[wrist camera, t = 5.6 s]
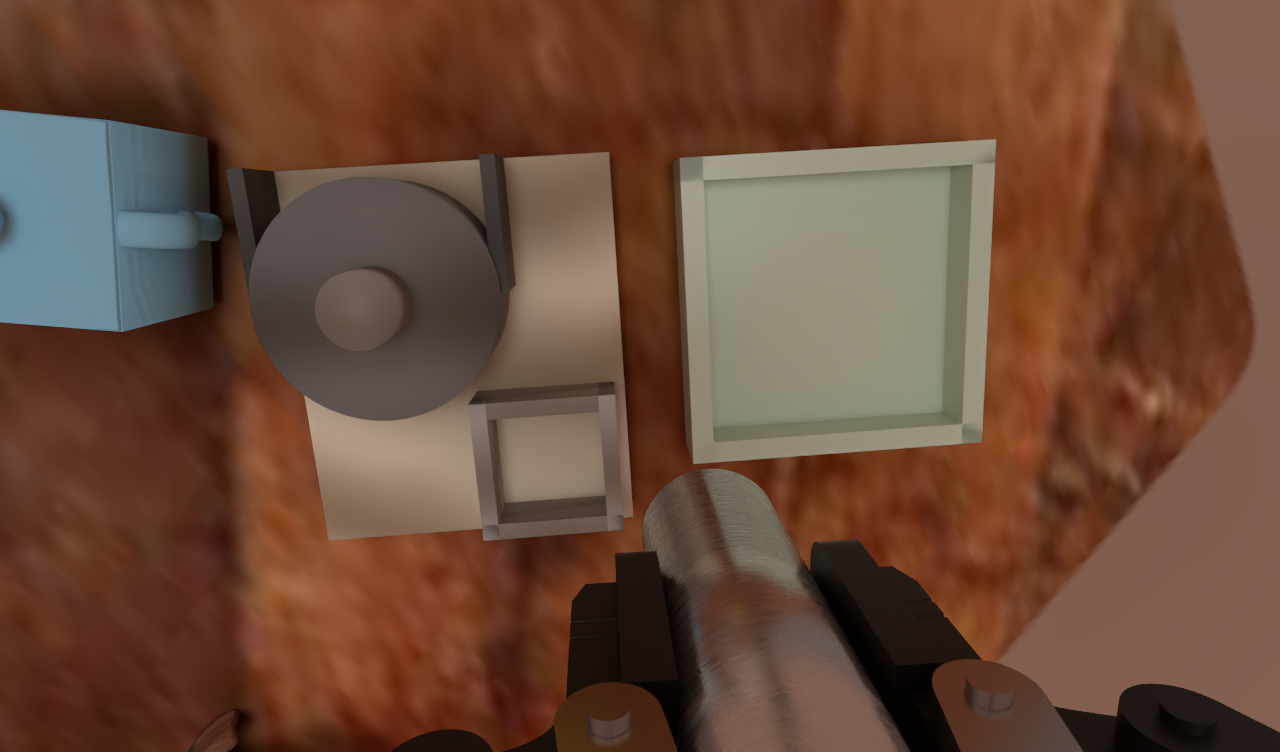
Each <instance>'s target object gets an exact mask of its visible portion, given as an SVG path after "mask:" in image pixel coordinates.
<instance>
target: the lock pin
mask: <svg viewBox="0 0 1280 752" xmlns="http://www.w3.org/2000/svg"><path fill="white" fill-rule="evenodd" d="M642 541H643V549H644V552H647V551H657V556H658V562H659V567H660V573H661V579H662V585H663V591H664V597H665V603H666V609H667V615H668V621H669V627H670V633H671V639H672V645H673V651H674V657H675V663H676V669H677V675H678V688H679V724H678V727H677V730H676V733H675V736H674V743H675V745H676V748H677V751H678V752H912V751H911V750H910V748H909V746H908V744H907V743H906V741H905V739H904V737H903V736H902V734H901V732H900V730H899V728H898V727H897V725H896V723H895V721H894V720H893V718H892V716H891V714H890V712H889V711H888V709H887V707H886V705H885V704H884V702H883V700H882V698H881V697H880V695H879V693H878V691H877V689H876V688H875V686H874V684H873V682H872V681H871V679H870V677H869V675H868V674H867V672H866V670H865V668H864V666H863V665H862V663H861V661H860V659H859V658H858V656H857V654H856V652H855V650H854V649H853V647H852V645H851V643H850V642H849V640H848V638H847V636H846V635H845V633H844V631H843V629H842V627H841V626H840V624H839V622H838V620H837V619H836V617H835V615H834V613H833V611H832V610H831V608H830V606H829V604H828V603H827V601H826V599H825V597H824V596H823V594H822V592H821V590H820V588H819V587H818V585H817V583H816V581H815V580H814V578H813V576H812V574H811V573H810V571H809V569H808V567H807V565H806V564H805V562H804V560H803V558H802V557H801V555H800V553H799V551H798V549H797V548H796V546H795V544H794V542H793V541H792V539H791V537H790V535H789V534H788V532H787V530H786V528H785V526H784V525H783V523H782V521H781V519H780V518H779V516H778V514H777V512H776V511H775V509H774V507H773V505H772V503H771V502H770V500H769V498H768V497H767V495H766V494H765V493H764V491H763V490H762V489H761V488H760V487H759V486H758V485H757V484H755V483H754V482H753V481H752V480H750V479H748V478H747V477H745V476H743V475H741V474H738V473H736V472H732V471H729V470H723V469H703V470H697V471H693V472H690V473H687V474H684V475H682V476H680V477H678V478H676V479H674V480H673V481H672V482H670V483H669V484H667V485H666V486H665V487H664V488H663V489H662V490H661V491H660V492H659V493H658V494H657V495H656V496H655V498H654V499H653V501H652V502H651V504H650V506H649V508H648V510H647V512H646V515H645V518H644V522H643V527H642Z"/></svg>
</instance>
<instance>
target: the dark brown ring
mask: <svg viewBox="0 0 1280 752" xmlns="http://www.w3.org/2000/svg"><path fill="white" fill-rule="evenodd" d="M238 720H239V712H238V711H237V710H235V709H234V710H230V711H228V712H227V713H226V714H224V715H222V716H221V717H219V718H218V719H216V720H215V721H214V722H213V723H212V724H211V725H210V726H209V727H207V728H206V729H205V730H204V732H203V733H202V734H201V735H200V736H199V737H198V738H197V740H196V741H195V743H194V744H193V745H192V746H191V748H190V749H189V751H188V752H228V751H229V750H231V749H232V748H234V747H235V746H236V744H237V742H238V734H237V730H236V726H237V723H238Z"/></svg>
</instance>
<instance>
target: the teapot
mask: <svg viewBox="0 0 1280 752" xmlns="http://www.w3.org/2000/svg"><path fill="white" fill-rule="evenodd" d="M222 233H223V224H222V221H221V219H220V218H219V217H218V216H217V215H214V214H210V187H209V157H208V138H207V137H202V136H196V135H190V134H185V133H179V132H173V131H167V130H162V129H156V128H150V127H144V126H139V125H133V124H127V123H122V122H116V121H110V120H100V119H89V118H79V117H69V116H59V115H48V114H38V113H28V112H17V111H7V110H0V322H4V323H17V324H30V325H42V326H55V327H68V328H81V329H94V330H107V331H120V332H124V331H127V330H131V329H135V328H139V327H143V326H146V325H150V324H154V323H158V322H162V321H165V320H169V319H173V318H177V317H181V316H184V315H188V314H192V313H196V312H200V311H203V310H207V309H211V308H214V300H213V272H212V244H211V241H218V240H219V239H220V238H221V236H222Z"/></svg>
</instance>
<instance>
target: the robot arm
mask: <svg viewBox="0 0 1280 752" xmlns="http://www.w3.org/2000/svg"><path fill="white" fill-rule="evenodd" d="M615 562H616V582H613V583H596V584H585V585H584V587H583V588H582V589H581V591H580V592H579V593H578V594H577V596H576V597H575V598H574V600H573V601H572V610H571V627H570V643H569V659H568V675H567V692H566V700H565V701H563V703H562V704H561V705H560V707H559V708H558V710H557V712H556V715H555V719H554V725H553V726H552V727H551V728H550V729H549V730H548V731H547V732H546V733H544V734H543V735H541V736H540V737H538V738H537V739H535V740H533V741H531V742H529V743H527V744H524V745H521V746H519V747H516V748H513V749H509V750H506V751H503V752H678V751H677V748H676V745H675V743H674V736H675V733H676V730H677V727H678V724H679V688H678V675H677V669H676V663H675V657H674V651H673V645H672V639H671V633H670V627H669V621H668V615H667V609H666V603H665V597H664V591H663V585H662V579H661V573H660V567H659V562H658V556H657V551H647V552H629V553H615ZM810 573H811V574H812V576H813V578H814V580H815V581H816V583H817V585H818V587H819V588H820V590H821V592H822V594H823V596H824V597H825V599H826V601H827V603H828V604H829V606H830V608H831V610H832V611H833V613H834V615H835V617H836V619H837V620H838V622H839V624H840V626H841V627H842V629H843V631H844V633H845V635H846V636H847V638H848V640H849V642H850V643H851V645H852V647H853V649H854V650H855V652H856V654H857V656H858V658H859V659H860V661H861V663H862V665H863V666H864V668H865V670H866V672H867V674H868V675H869V677H870V679H871V681H872V682H873V684H874V686H875V688H876V689H877V691H878V693H879V695H880V697H881V698H882V700H883V702H884V704H885V705H886V707H887V709H888V711H889V712H890V714H891V716H892V718H893V720H894V721H895V723H896V725H897V727H898V728H899V730H900V732H901V734H902V736H903V737H904V739H905V741H906V743H907V744H908V746H909V748H910V750H911V751H912V752H1280V733H1279V732H1277V731H1276V730H1274V729H1272V728H1270V727H1268V726H1266V725H1264V724H1262V723H1260V722H1258V721H1255V720H1253V719H1252V718H1250V717H1248V716H1246V715H1244V714H1241V713H1240V712H1238V711H1236V710H1234V709H1232V708H1230V707H1227V706H1226V705H1224V704H1222V703H1220V702H1218V701H1216V700H1213V699H1211V698H1209V697H1207V696H1204V695H1202V694H1199V693H1196V692H1194V691H1190V690H1187V689H1184V688H1179V687H1175V686H1170V685H1162V684H1141V685H1136V686H1133V687H1130V688H1128V689H1126V690H1125V691H1124V692H1123V693H1122V694H1121V696H1120V699H1119V705H1118V712H1117V717H1116V716H1109V715H1103V714H1095V713H1089V712H1082V711H1076V710H1069V709H1064V708H1059V707H1054V706H1053V705H1052V703H1051V702H1050V700H1049V699H1048V697H1047V696H1046V694H1045V693H1044V692H1043V690H1042V689H1041V688H1040V687H1039V686H1038V685H1037V684H1036V683H1035V682H1034V681H1032V680H1031V679H1030V678H1028V677H1027V676H1025V675H1024V674H1022V673H1020V672H1018V671H1016V670H1014V669H1012V668H1010V667H1007V666H1004V665H1001V664H998V663H994V662H990V661H985V660H982V659H981V658H980V657H979V656H978V655H977V653H976V652H975V651H974V650H973V648H972V647H971V646H970V645H969V644H968V642H967V641H966V640H965V639H964V638H963V636H962V635H961V634H960V633H959V632H958V630H957V629H956V628H955V627H954V626H953V624H952V623H951V622H950V621H949V619H948V618H947V617H944V615H943V612H942V611H941V610H940V609H939V607H938V606H937V605H936V604H935V603H934V602H932V601H931V598H930V597H929V595H928V594H927V593H926V592H925V590H924V589H923V588H922V587H921V586H920V584H919V583H918V582H917V581H916V580H914V579H913V578H911V577H909V576H907V575H906V574H904V573H902V572H901V571H899V570H897V569H896V568H894V567H892V566H888V567H879V566H878V565H877V564H876V562H875V561H874V560H873V558H872V557H871V556H870V554H869V553H868V552H867V551H866V549H865V548H864V547H863V545H862V544H861V543H860V542H859V541H858V540H842V541H825V542H815V543H814V544H813V546H812V549H811V564H810ZM392 752H492V749H491V747H490V746H489V744H488V743H487V742H486V741H485V740H484V739H483V738H481V737H480V736H478V735H476V734H474V733H471V732H468V731H463V730H453V729H448V730H438V731H433V732H429V733H425V734H422V735H419V736H417V737H414V738H412V739H410V740H408V741H406V742H404V743H403V744H401V745H400V746H398V747H397V748H395V749H394V750H393V751H392Z"/></svg>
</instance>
